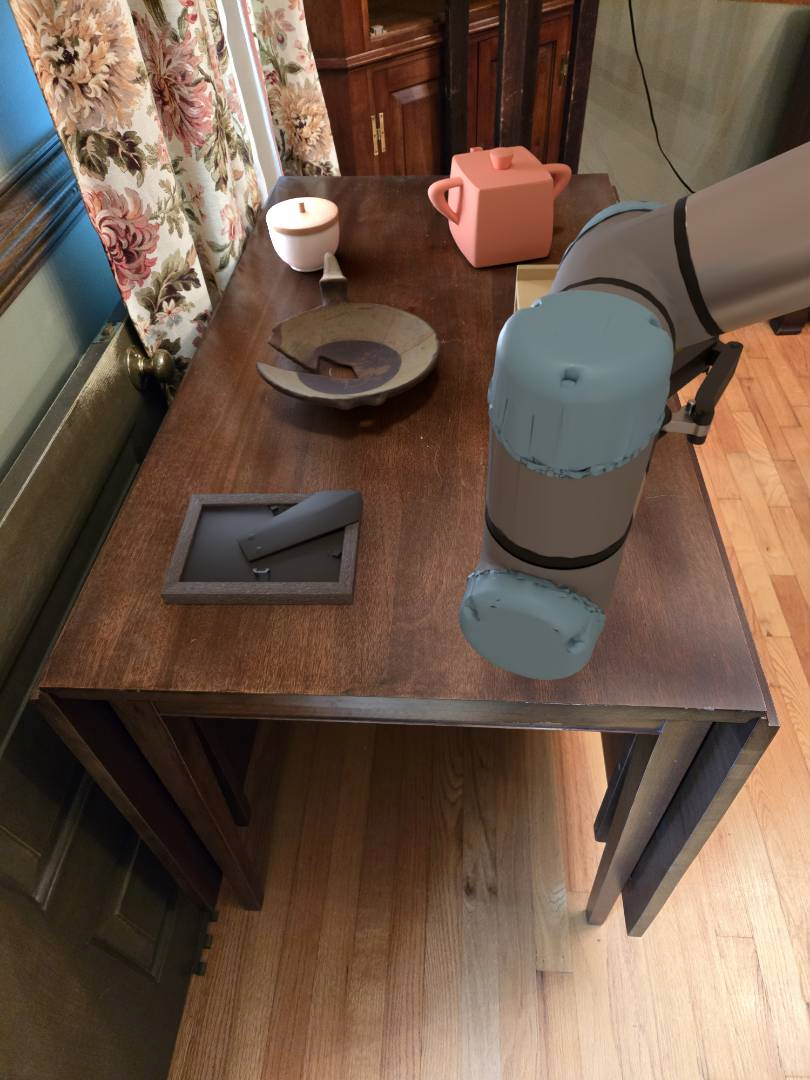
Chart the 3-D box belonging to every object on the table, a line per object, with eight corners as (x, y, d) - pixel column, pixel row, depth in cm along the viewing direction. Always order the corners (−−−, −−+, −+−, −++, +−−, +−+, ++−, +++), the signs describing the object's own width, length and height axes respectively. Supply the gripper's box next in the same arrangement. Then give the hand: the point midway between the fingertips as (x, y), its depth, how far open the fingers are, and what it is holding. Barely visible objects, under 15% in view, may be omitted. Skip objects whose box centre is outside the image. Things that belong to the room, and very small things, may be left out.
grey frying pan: (237, 432, 86) (222, 378, 80) (305, 300, 105) (296, 249, 99) (424, 448, 82) (422, 393, 77) (457, 308, 102) (458, 256, 96)
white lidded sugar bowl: (301, 287, 108) (291, 224, 101) (261, 262, 113) (249, 201, 106) (357, 261, 112) (351, 200, 105) (316, 239, 118) (308, 179, 111)
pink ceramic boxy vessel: (581, 256, 110) (595, 159, 100) (442, 278, 108) (441, 181, 97) (536, 202, 123) (544, 112, 113) (410, 221, 121) (407, 130, 110)
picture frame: (363, 503, 77) (196, 504, 78) (361, 489, 75) (191, 491, 76) (352, 604, 68) (164, 604, 69) (350, 591, 66) (158, 591, 67)
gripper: (439, 468, 53) (528, 311, 67) (739, 544, 47) (770, 354, 61) (438, 383, 48) (536, 231, 61) (778, 457, 41) (803, 269, 55)
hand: (652, 292), depth 61 cm, fingers closed on decorative egg, 8 cm apart
